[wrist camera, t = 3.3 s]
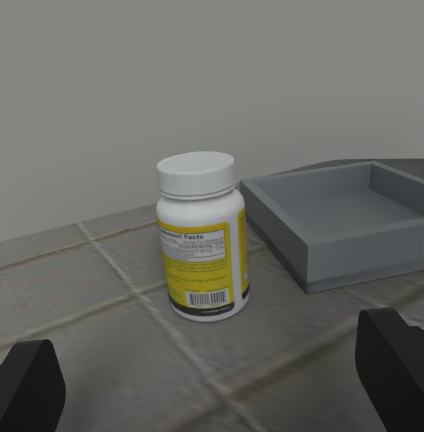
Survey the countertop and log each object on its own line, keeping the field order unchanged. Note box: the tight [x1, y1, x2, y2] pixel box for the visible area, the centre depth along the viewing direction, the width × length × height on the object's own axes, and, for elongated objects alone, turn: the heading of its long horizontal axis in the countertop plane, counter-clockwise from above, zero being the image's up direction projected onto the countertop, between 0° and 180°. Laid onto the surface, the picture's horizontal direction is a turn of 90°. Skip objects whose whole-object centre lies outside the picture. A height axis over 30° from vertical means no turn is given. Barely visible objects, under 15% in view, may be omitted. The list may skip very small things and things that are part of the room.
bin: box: [240, 161, 424, 294], centre depth 28 cm, size 13×13×3 cm
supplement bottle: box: [156, 152, 250, 322], centre depth 20 cm, size 5×5×8 cm
